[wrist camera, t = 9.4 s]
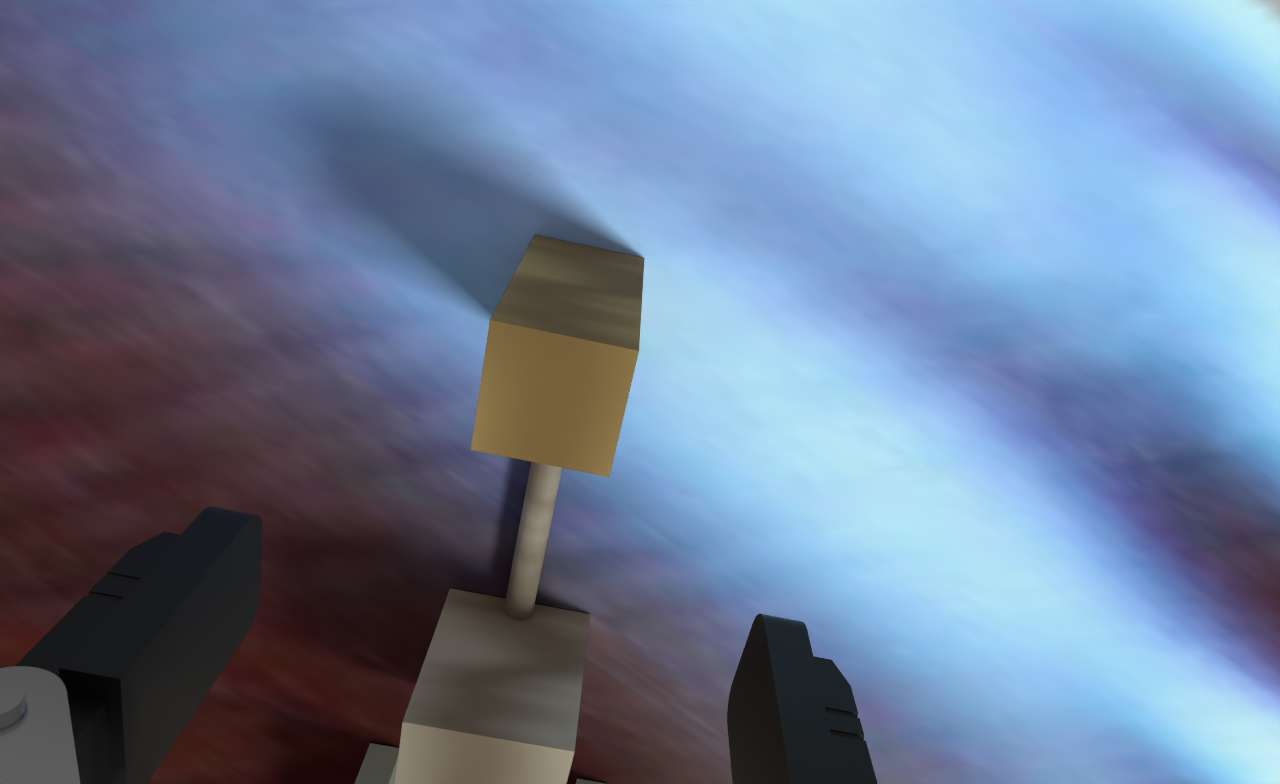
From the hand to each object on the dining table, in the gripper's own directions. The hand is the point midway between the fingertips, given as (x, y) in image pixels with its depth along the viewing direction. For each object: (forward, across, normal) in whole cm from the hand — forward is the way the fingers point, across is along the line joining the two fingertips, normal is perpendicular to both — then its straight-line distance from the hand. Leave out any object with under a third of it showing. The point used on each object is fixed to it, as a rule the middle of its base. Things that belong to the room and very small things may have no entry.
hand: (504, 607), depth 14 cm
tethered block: (+13, 0, +6) cm, 14 cm away
